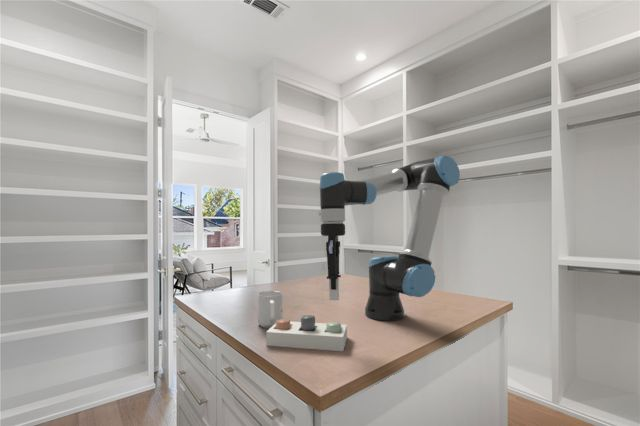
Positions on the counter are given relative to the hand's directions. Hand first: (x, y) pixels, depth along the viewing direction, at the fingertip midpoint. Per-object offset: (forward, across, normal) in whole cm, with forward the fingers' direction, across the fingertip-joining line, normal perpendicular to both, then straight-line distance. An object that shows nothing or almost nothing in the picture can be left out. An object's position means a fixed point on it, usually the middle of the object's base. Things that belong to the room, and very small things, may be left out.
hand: (334, 299), depth 95 cm
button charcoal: (+10, +1, -8) cm, 13 cm away
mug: (+13, -11, -25) cm, 30 cm away
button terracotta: (+11, +1, -16) cm, 20 cm away
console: (+13, +1, -8) cm, 15 cm away
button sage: (+11, +1, 0) cm, 11 cm away
